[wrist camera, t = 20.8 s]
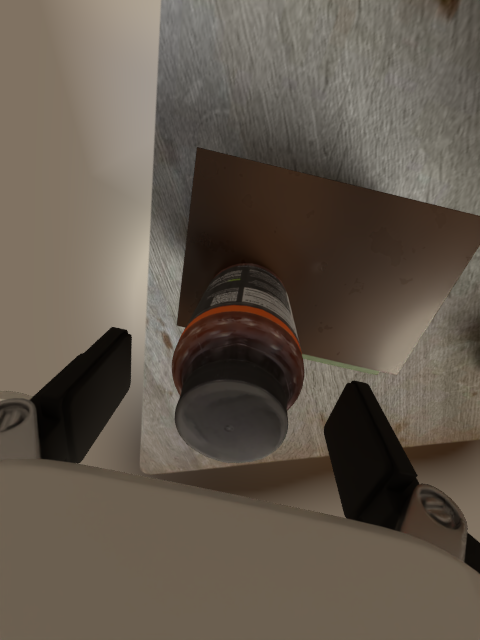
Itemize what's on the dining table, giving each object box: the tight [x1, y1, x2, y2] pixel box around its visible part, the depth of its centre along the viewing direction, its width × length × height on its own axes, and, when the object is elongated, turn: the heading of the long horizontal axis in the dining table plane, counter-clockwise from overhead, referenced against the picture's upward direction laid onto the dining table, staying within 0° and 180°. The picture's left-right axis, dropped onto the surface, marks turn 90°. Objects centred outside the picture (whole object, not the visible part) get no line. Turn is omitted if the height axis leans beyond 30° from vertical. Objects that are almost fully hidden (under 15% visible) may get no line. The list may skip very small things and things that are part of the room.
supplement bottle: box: [172, 263, 304, 463], centre depth 14 cm, size 6×6×11 cm
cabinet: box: [177, 147, 480, 375], centre depth 24 cm, size 18×12×14 cm, turn 78°
